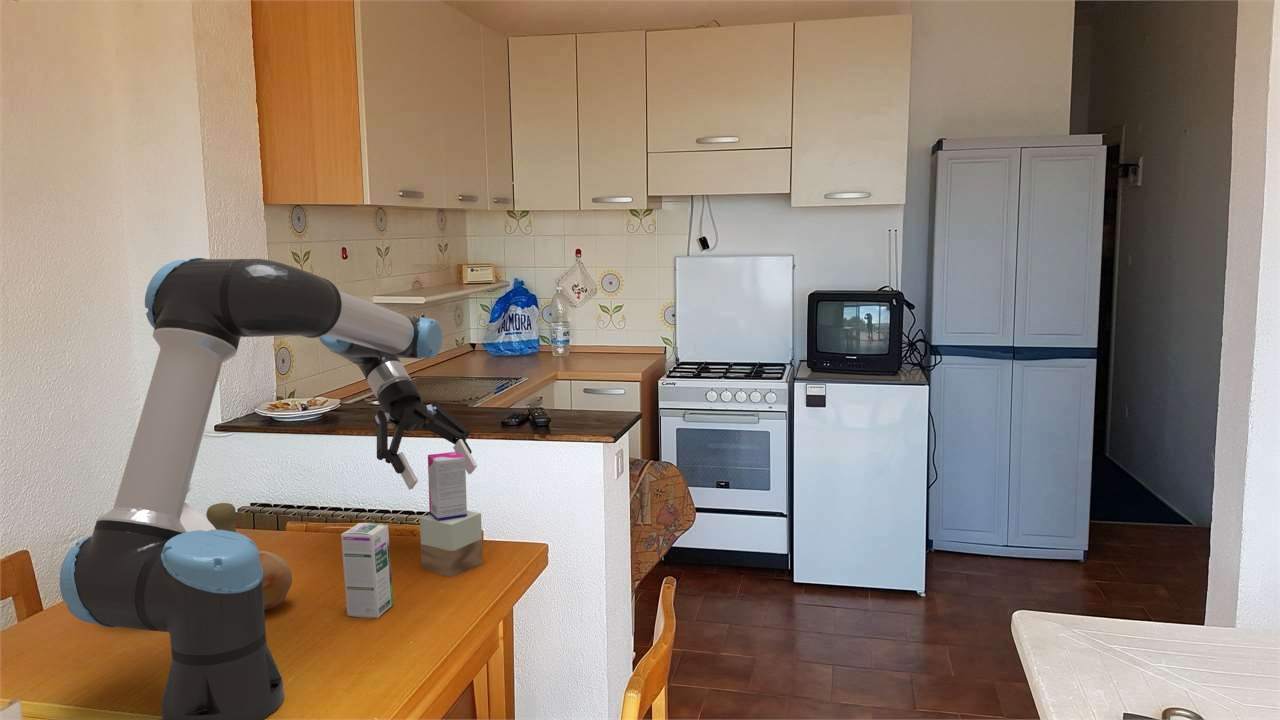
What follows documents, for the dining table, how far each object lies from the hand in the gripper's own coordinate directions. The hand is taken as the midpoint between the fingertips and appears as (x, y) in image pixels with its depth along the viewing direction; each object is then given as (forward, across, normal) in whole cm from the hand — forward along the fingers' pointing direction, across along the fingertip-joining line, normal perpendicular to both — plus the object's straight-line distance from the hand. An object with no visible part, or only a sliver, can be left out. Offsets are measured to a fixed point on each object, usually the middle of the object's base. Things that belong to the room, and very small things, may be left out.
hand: (444, 477), depth 181 cm
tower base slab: (+13, 0, -11) cm, 17 cm away
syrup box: (+18, +22, -6) cm, 29 cm away
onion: (+8, +34, -16) cm, 38 cm away
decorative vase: (-2, +44, -26) cm, 51 cm away
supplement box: (+6, 0, -4) cm, 7 cm away
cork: (-13, +27, -37) cm, 48 cm away
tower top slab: (+10, 0, -7) cm, 12 cm away
